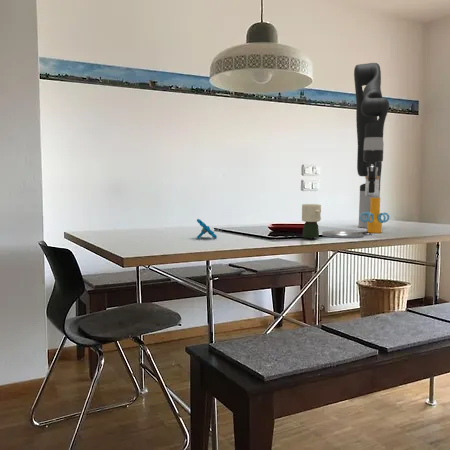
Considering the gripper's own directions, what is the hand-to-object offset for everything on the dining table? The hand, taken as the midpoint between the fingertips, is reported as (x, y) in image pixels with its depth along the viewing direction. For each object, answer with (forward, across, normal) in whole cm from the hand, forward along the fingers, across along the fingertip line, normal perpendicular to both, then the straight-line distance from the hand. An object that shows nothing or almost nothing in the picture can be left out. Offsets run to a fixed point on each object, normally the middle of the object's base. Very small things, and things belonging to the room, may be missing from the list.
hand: (371, 192), depth 197 cm
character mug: (+18, +18, -21) cm, 33 cm away
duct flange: (+18, +4, -11) cm, 21 cm away
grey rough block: (+2, 0, 0) cm, 2 cm away
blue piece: (+18, +33, -58) cm, 69 cm away
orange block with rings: (+18, -15, +1) cm, 23 cm away
